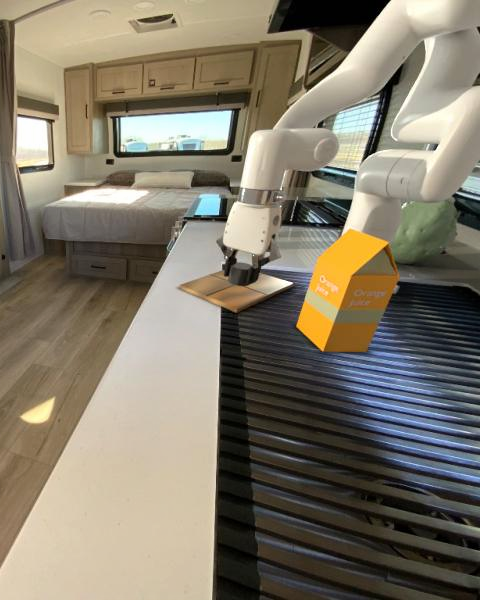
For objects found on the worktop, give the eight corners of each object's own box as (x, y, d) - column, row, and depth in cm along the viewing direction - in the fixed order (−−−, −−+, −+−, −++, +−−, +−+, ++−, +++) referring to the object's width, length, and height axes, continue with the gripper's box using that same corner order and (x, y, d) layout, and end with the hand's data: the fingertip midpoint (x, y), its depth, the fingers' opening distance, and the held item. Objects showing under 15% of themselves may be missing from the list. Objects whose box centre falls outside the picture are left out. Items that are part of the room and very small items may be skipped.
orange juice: (334, 326, 66) (372, 228, 58) (367, 352, 58) (416, 242, 50) (294, 326, 67) (326, 228, 58) (322, 351, 59) (362, 242, 50)
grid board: (292, 286, 84) (293, 282, 83) (236, 312, 72) (237, 308, 72) (235, 268, 96) (236, 265, 95) (179, 288, 84) (179, 284, 84)
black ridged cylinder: (254, 283, 75) (258, 266, 74) (242, 287, 73) (246, 271, 71) (235, 276, 79) (238, 260, 77) (223, 281, 77) (226, 264, 75)
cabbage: (365, 264, 97) (393, 194, 88) (373, 250, 109) (398, 186, 100) (440, 278, 87) (479, 200, 78) (439, 260, 99) (473, 191, 90)
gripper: (311, 201, 63) (285, 287, 71) (231, 190, 76) (217, 265, 84) (291, 205, 59) (266, 296, 67) (211, 193, 72) (198, 271, 80)
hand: (239, 278), depth 76 cm, fingers closed on black ridged cylinder, 4 cm apart
